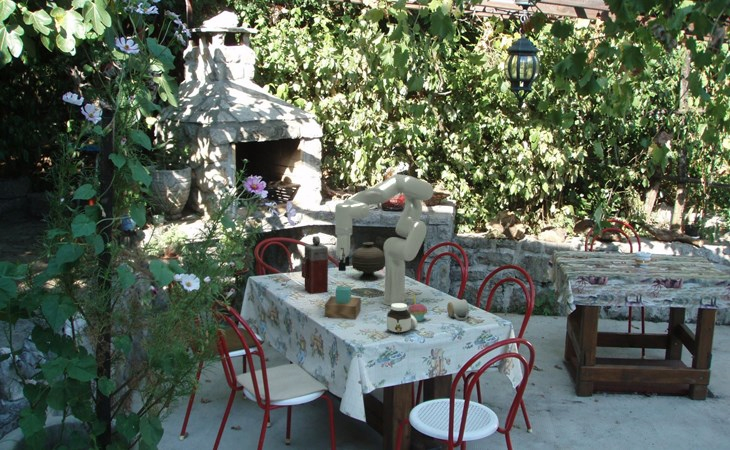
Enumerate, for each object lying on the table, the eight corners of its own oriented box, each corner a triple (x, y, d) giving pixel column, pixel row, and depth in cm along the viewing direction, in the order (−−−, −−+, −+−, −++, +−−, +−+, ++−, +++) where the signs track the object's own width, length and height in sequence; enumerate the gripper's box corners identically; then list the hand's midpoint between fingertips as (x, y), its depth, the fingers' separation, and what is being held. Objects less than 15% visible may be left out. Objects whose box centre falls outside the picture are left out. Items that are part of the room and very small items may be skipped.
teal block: (350, 299, 355) (350, 286, 353) (348, 303, 349) (348, 290, 348) (337, 298, 355) (337, 286, 354) (335, 302, 350) (335, 289, 348)
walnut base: (360, 310, 359) (360, 297, 358) (355, 319, 345) (355, 306, 344) (330, 308, 361) (330, 296, 360) (324, 317, 347) (324, 304, 346)
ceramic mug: (445, 314, 354) (446, 298, 352) (462, 313, 356) (462, 297, 355) (455, 322, 344) (455, 305, 343) (471, 320, 346) (472, 304, 345)
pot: (343, 278, 414) (346, 241, 412) (362, 274, 429) (365, 238, 426) (371, 284, 404) (374, 246, 402) (389, 280, 419) (393, 243, 416)
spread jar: (384, 332, 328) (384, 306, 326) (394, 325, 338) (394, 299, 336) (410, 336, 323) (411, 309, 321) (420, 329, 333) (420, 302, 331)
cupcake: (413, 323, 341) (413, 296, 339) (404, 317, 348) (405, 292, 346) (430, 321, 344) (431, 295, 342) (421, 315, 352) (422, 290, 350)
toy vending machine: (300, 290, 391) (300, 236, 386) (320, 287, 397) (320, 234, 391) (307, 294, 384) (307, 239, 378) (327, 292, 389) (328, 237, 384)
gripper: (339, 226, 355) (339, 263, 358) (331, 234, 338) (332, 272, 342) (355, 227, 354) (355, 263, 357) (348, 235, 337) (349, 273, 340)
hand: (344, 268), depth 349 cm, fingers open, 9 cm apart
